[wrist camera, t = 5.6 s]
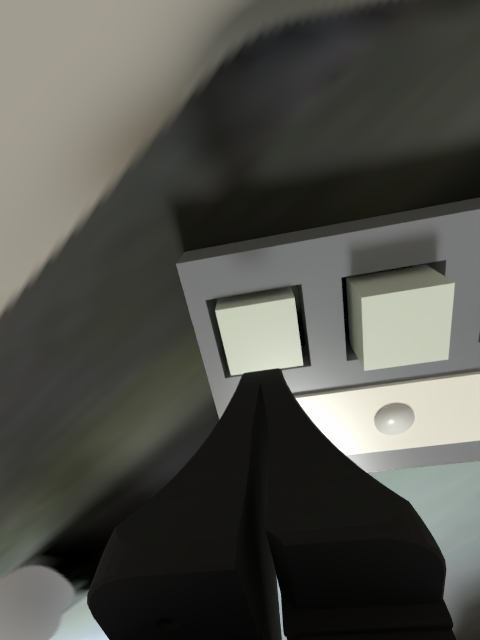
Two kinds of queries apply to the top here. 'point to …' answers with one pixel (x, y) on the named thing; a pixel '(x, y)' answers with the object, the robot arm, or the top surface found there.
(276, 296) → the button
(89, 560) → the top surface
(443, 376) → the button board
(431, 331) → the middle button
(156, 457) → the top surface
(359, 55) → the top surface
